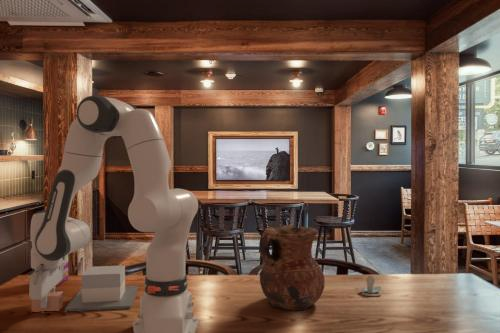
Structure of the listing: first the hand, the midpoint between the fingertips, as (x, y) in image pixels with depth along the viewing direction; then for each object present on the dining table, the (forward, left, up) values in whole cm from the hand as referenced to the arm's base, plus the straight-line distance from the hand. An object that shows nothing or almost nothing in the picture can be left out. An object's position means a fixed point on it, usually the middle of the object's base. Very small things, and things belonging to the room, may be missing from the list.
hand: (47, 303), depth 129 cm
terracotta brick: (0, 0, -2) cm, 2 cm away
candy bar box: (+28, +6, -2) cm, 29 cm away
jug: (-6, -78, -2) cm, 78 cm away
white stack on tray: (+7, -16, -2) cm, 18 cm away
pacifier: (-1, -108, -2) cm, 108 cm away
